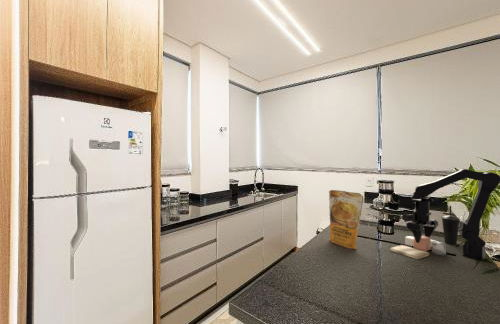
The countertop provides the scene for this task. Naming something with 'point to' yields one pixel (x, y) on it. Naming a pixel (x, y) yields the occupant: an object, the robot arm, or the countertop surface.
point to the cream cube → (409, 241)
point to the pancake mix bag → (344, 217)
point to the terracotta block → (423, 243)
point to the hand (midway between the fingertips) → (422, 241)
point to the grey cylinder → (438, 248)
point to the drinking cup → (450, 228)
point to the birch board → (409, 251)
